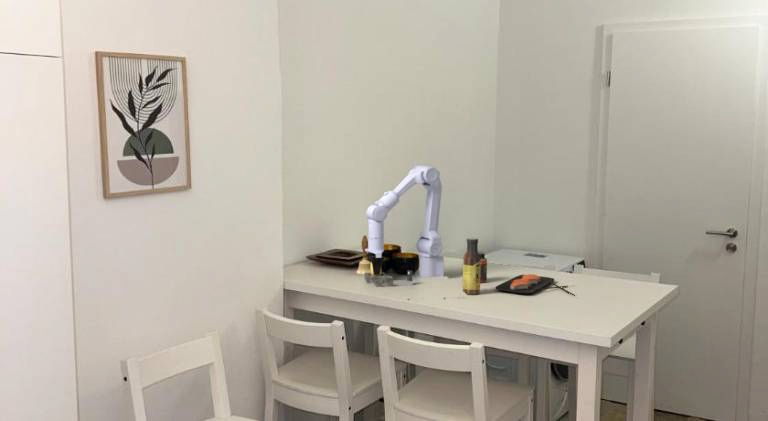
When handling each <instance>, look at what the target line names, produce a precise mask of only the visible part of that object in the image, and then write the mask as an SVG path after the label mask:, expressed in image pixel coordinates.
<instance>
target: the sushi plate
mask: <svg viewBox="0 0 768 421" xmlns="http://www.w3.org/2000/svg"><path fill="white" fill-rule="evenodd" d="M554 281H555V278H553V277H549V276H539V275H536V274H533V273H532V274H531V273H529V274H527V273H526V274H519V275H517V276H514V277H513V278H511V279H508V280H506V281H504V282H502V283H500V284H498V285H496V286H495V289H496V290H498V291H503V292H507V293H512V294H520V295H523V294H525V295H527V294H533V293H536V292H537V291H539V290H550V289H561V290H562V291H563V292H565V293H567V294H569V293H570V294H572V295H574V296H575V295H576V294H574V293H572V292H570V291H568V290H567V289H565V288H567V287H566V286H567V285H561V286H559V285H558V284H556V283H554ZM550 284H551V285H554V286H551V287H546V286H548V285H550ZM561 287H565V288H561ZM570 294H569V295H570ZM572 295H571V296H572ZM574 296H573V297H574Z"/></svg>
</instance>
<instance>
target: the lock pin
mask: <svg viewBox="0 0 768 421" xmlns="http://www.w3.org/2000/svg"><path fill="white" fill-rule="evenodd" d="M406 274H407V275H406V276H407V277H406V279H400V280H399V279H397V280H395V279H393V286H413V284H414V283H413V282H414V281H413V270H407V273H406Z"/></svg>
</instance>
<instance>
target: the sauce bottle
mask: <svg viewBox="0 0 768 421" xmlns="http://www.w3.org/2000/svg"><path fill="white" fill-rule="evenodd" d="M478 243H479V238H477V237H467V238H466V244H467V245H466V247H467V248H466V252H465V253H464V255H463V264H462V292H463V293H464V294H466V295H472V296H473V295H479V294H480V293H481V292H480V290H481V283H480V273H481V260H480V257H479V253H478V252H479V251H478V250H479V249H478V246H479V244H478Z"/></svg>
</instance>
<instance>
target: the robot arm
mask: <svg viewBox="0 0 768 421" xmlns="http://www.w3.org/2000/svg"><path fill="white" fill-rule="evenodd" d="M415 185H422V186H423V187H424V188H425V189H426V199H425V200H426V202H425V209H424V210H425V212H424V220H423V230H422V231H421V232H420V233H419V236H418V239H417V242H416V246H415V247H416V250H417V251H418V253H419V266H418V268H419V269H418V271H419V274H418V275H419V276H420V277H424V278H436V277H444V276H445V258H444V256H443V255H440V254H441V253H442V250H443V245H442V241H441V240H442V237H441V236H440V234H439V231H438V228H439V219H440V212H441V211H440V209H441V199H442V191H443V190H442V188H443V185H442V181H441V179H440V171H439V170H438V169H437V168H436V167H435V166H431V165H430V166H429V165H421V164H417V165H415V166H414V167H413V168H412V169H411V170H409V172H408V174H407V175H406V176H405V177H404V178H403V180H402V181H401V182H400V183H399V184H398V185H397V186H396V187H395V188H394V189H393V190H389V191H385V192H384V193H383V195H382V197H380V199H379V200H376V201H375V202H374V204H371V205H370V206H368V207H367V210H366V211H365V217H366V218H367V219H368V220H367V223H368V229H367V230H368V233H367V234H368V235H367V236H368V238H367V240H368V249H365V251H367V258H368V259H369V262H370V263H371V262H372V267H373V273H374V275H379V274H380V271H381V272H382V266H383V262H384V261H385V259H386V257H385V255H384V256H383V252H384V251H385V245H384V243H385V242H384V241H385V240H384V239H385V238H384V237H385V235H384V234H385V231H384V230H385V229H384V228H385V220H386V219H387V217H388V213H389V212H390V211H391V210H392V209H393V208H394V207H395V206H396V205H398V203H399V202H400V197H402V196H403V195H404V194H406V193H407V192H408V190H410V189H411V188H412V187H413V186H415Z"/></svg>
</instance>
